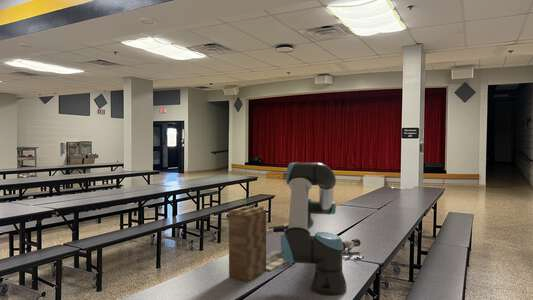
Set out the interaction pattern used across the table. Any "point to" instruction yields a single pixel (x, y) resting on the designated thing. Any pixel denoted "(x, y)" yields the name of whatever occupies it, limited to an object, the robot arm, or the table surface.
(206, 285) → the table surface
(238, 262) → the wooden rectangular column
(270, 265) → the board
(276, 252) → the block
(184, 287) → the table surface
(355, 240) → the figurine
